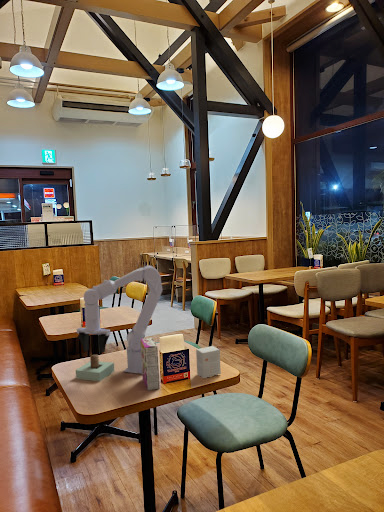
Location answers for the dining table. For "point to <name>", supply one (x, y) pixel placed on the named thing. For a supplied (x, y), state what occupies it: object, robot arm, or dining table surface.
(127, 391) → the dining table surface
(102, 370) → the socket block
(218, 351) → the small box
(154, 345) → the candy bar box
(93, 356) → the walnut peg
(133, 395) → the dining table surface
